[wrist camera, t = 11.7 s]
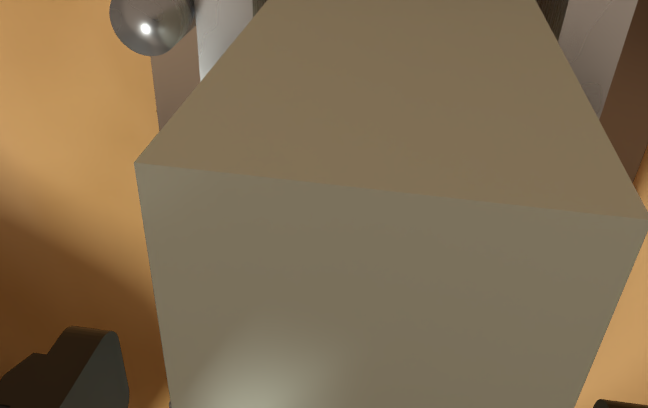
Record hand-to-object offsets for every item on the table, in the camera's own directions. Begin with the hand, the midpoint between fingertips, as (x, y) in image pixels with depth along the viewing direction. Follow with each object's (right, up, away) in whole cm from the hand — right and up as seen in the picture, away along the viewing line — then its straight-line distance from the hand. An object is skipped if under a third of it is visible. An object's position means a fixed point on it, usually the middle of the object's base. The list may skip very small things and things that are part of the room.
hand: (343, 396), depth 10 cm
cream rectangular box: (+1, +3, +5) cm, 6 cm away
